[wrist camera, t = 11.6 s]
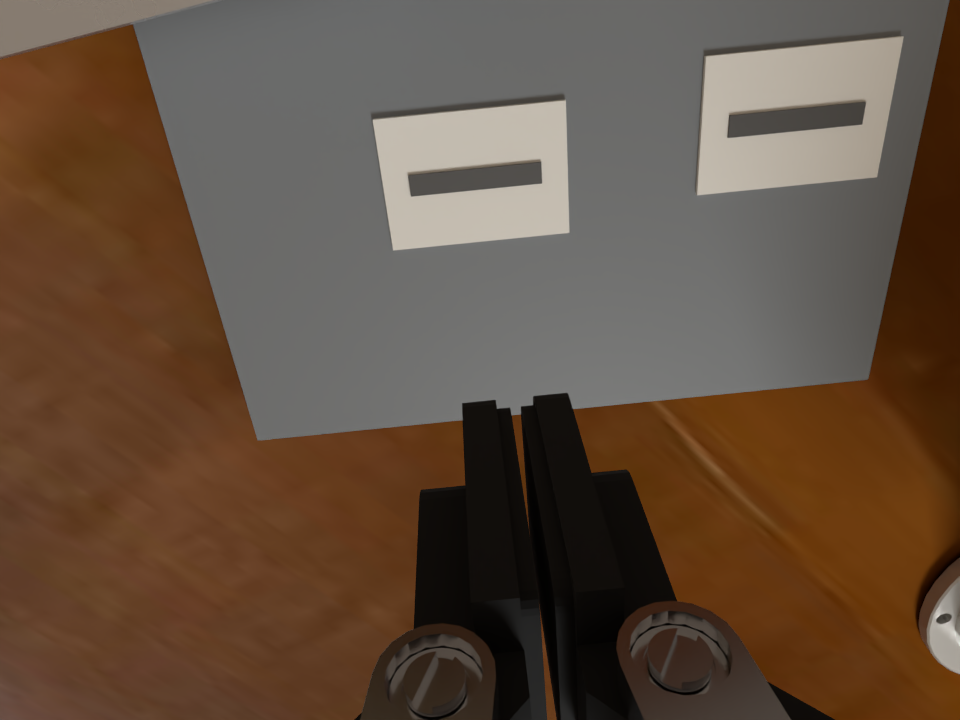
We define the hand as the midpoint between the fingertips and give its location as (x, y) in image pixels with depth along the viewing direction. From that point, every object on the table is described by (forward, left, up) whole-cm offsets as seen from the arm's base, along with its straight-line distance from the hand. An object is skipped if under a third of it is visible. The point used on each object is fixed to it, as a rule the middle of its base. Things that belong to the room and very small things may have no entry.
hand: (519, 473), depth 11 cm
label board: (-3, 0, -19) cm, 19 cm away
